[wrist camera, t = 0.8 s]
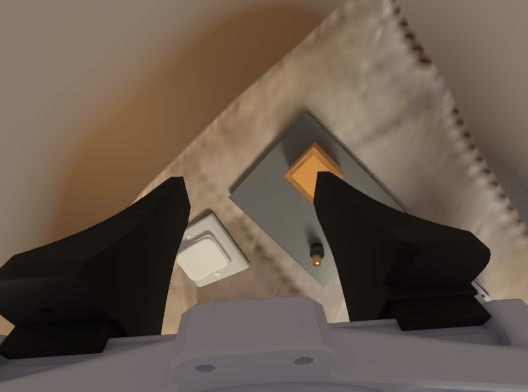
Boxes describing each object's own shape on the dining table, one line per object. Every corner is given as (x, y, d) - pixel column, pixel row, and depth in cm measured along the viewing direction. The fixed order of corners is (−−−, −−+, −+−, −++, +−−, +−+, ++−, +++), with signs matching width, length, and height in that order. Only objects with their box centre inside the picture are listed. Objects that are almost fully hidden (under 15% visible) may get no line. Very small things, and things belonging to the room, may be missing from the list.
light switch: (151, 251, 39) (201, 222, 33) (167, 238, 42) (214, 210, 37) (189, 298, 40) (243, 278, 35) (202, 282, 44) (251, 261, 38)
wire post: (327, 249, 33) (327, 264, 29) (316, 256, 33) (316, 271, 30) (317, 239, 32) (316, 253, 29) (307, 247, 33) (305, 261, 30)
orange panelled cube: (340, 167, 28) (343, 176, 24) (313, 191, 30) (312, 203, 26) (315, 141, 28) (313, 146, 24) (289, 167, 30) (283, 176, 26)
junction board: (416, 222, 29) (418, 225, 28) (322, 282, 36) (322, 286, 35) (307, 112, 28) (306, 112, 27) (230, 195, 34) (228, 197, 34)
